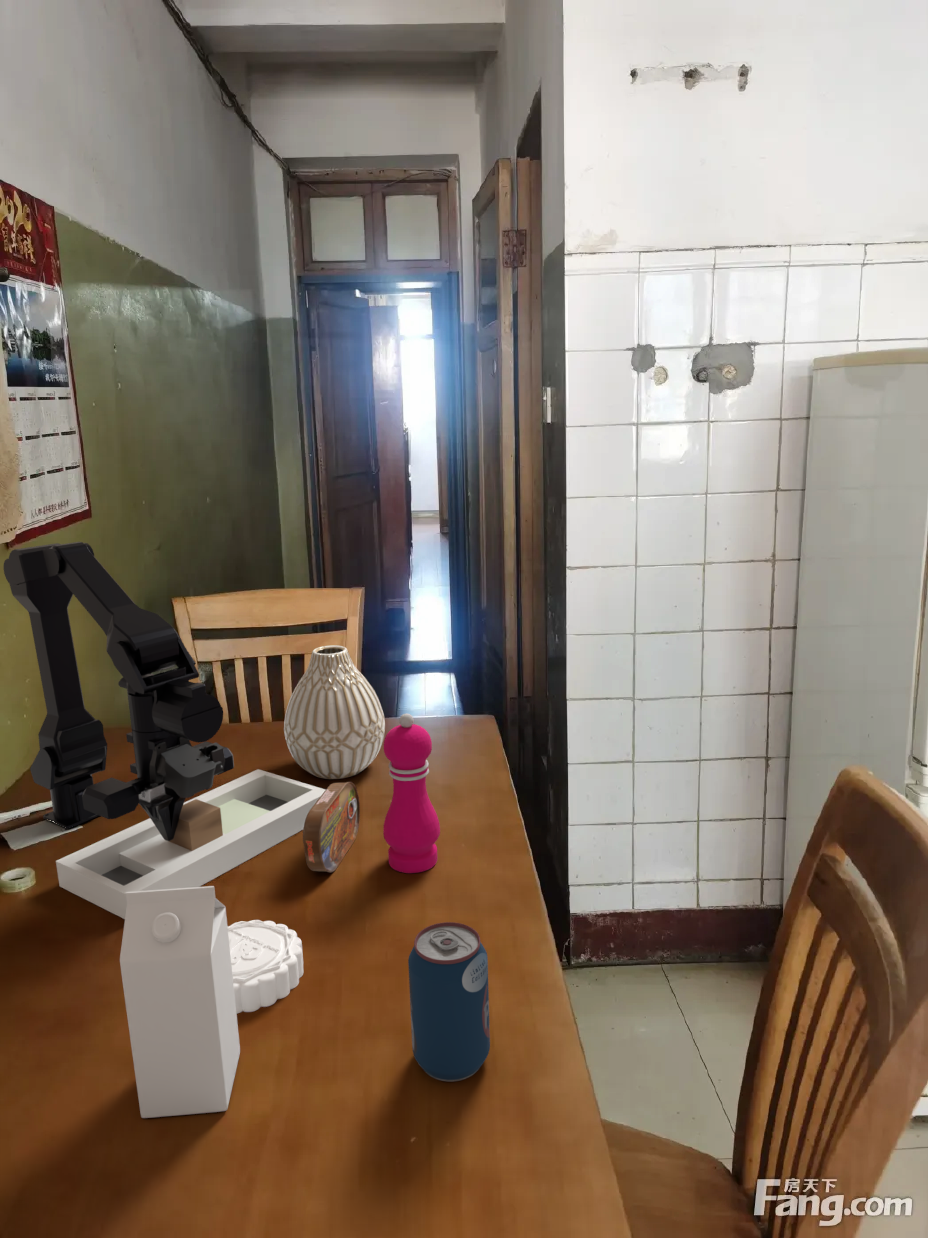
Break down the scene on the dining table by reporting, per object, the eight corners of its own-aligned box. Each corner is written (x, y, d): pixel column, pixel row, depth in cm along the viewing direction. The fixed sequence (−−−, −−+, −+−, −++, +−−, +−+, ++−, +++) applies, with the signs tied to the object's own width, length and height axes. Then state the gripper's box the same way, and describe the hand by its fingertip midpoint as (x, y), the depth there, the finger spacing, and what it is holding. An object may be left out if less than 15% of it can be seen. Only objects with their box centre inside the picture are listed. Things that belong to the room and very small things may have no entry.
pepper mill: (450, 853, 117) (445, 708, 112) (425, 880, 111) (418, 727, 106) (402, 843, 120) (394, 701, 115) (374, 869, 114) (365, 720, 109)
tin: (325, 885, 110) (321, 822, 108) (301, 883, 111) (296, 820, 109) (363, 828, 125) (359, 772, 123) (341, 827, 125) (338, 771, 123)
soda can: (505, 1066, 80) (503, 946, 77) (438, 1099, 76) (433, 975, 73) (463, 1022, 85) (459, 909, 82) (399, 1052, 82) (392, 935, 79)
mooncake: (160, 989, 92) (156, 958, 91) (249, 932, 101) (246, 903, 101) (241, 1033, 85) (238, 1000, 84) (328, 967, 95) (325, 936, 94)
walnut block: (167, 841, 118) (164, 813, 117) (198, 826, 122) (195, 799, 121) (192, 851, 115) (188, 822, 115) (223, 835, 119) (220, 808, 118)
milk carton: (161, 1060, 82) (137, 870, 77) (240, 1053, 82) (221, 865, 78) (140, 1120, 75) (112, 916, 70) (227, 1113, 75) (205, 910, 71)
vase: (308, 798, 135) (298, 670, 130) (274, 763, 148) (264, 646, 143) (403, 774, 142) (398, 652, 137) (363, 743, 156) (356, 631, 151)
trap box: (59, 886, 112) (55, 861, 111) (260, 790, 138) (258, 769, 137) (132, 923, 103) (129, 896, 102) (331, 813, 129) (330, 791, 128)
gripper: (128, 763, 100) (144, 889, 103) (257, 714, 114) (266, 827, 118) (72, 743, 106) (88, 863, 110) (201, 700, 121) (211, 807, 124)
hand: (168, 839), depth 115 cm, fingers closed
